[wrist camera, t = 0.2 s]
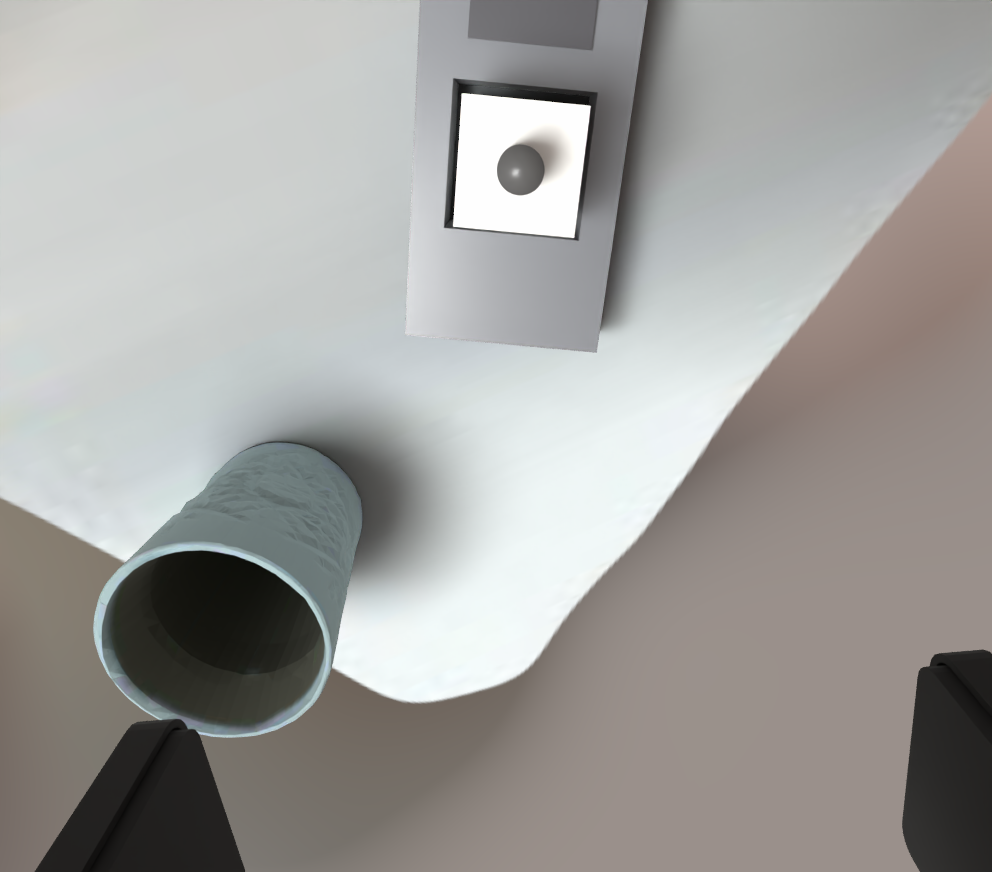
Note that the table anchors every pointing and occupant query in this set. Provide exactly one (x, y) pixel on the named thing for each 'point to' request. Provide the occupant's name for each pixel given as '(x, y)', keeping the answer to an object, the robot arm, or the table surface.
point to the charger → (520, 165)
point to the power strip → (510, 255)
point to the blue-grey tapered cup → (237, 596)
